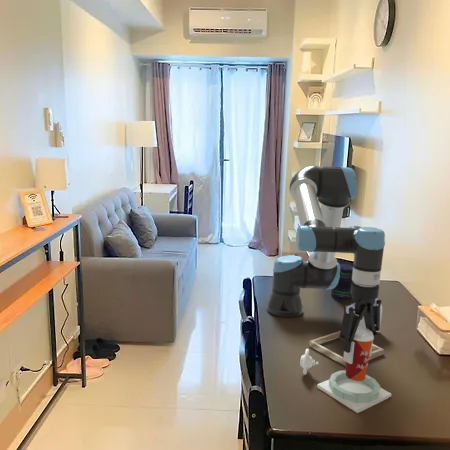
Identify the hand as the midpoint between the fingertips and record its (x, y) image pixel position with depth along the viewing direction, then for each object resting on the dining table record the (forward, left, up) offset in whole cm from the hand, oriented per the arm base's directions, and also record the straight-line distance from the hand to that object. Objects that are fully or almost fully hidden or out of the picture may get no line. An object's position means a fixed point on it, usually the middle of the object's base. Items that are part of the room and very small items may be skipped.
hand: (357, 357), depth 133 cm
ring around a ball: (-15, -4, -11) cm, 19 cm away
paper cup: (0, 0, -6) cm, 6 cm away
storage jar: (-56, +60, -11) cm, 83 cm away
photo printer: (-24, +38, -11) cm, 46 cm away
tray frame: (-19, +19, -11) cm, 29 cm away
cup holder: (0, 0, -11) cm, 11 cm away
